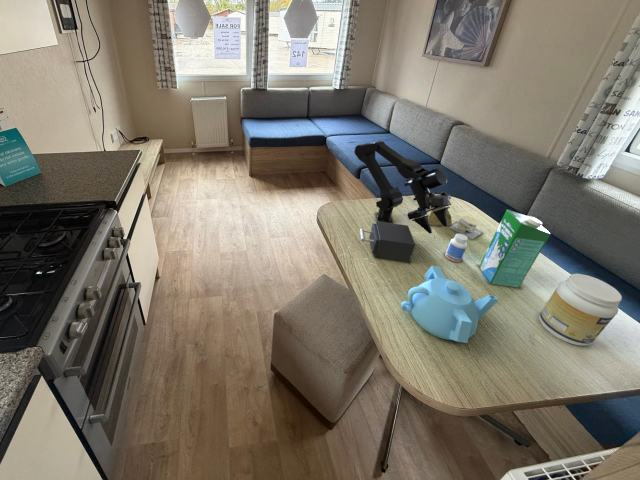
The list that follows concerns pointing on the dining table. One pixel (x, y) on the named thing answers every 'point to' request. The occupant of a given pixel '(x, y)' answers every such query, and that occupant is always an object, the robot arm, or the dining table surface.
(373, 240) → the drawer
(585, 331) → the supplement tub
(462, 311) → the teapot
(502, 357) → the dining table surface
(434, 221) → the rock
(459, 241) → the pill bottle
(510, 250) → the milk carton
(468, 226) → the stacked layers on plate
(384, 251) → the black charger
